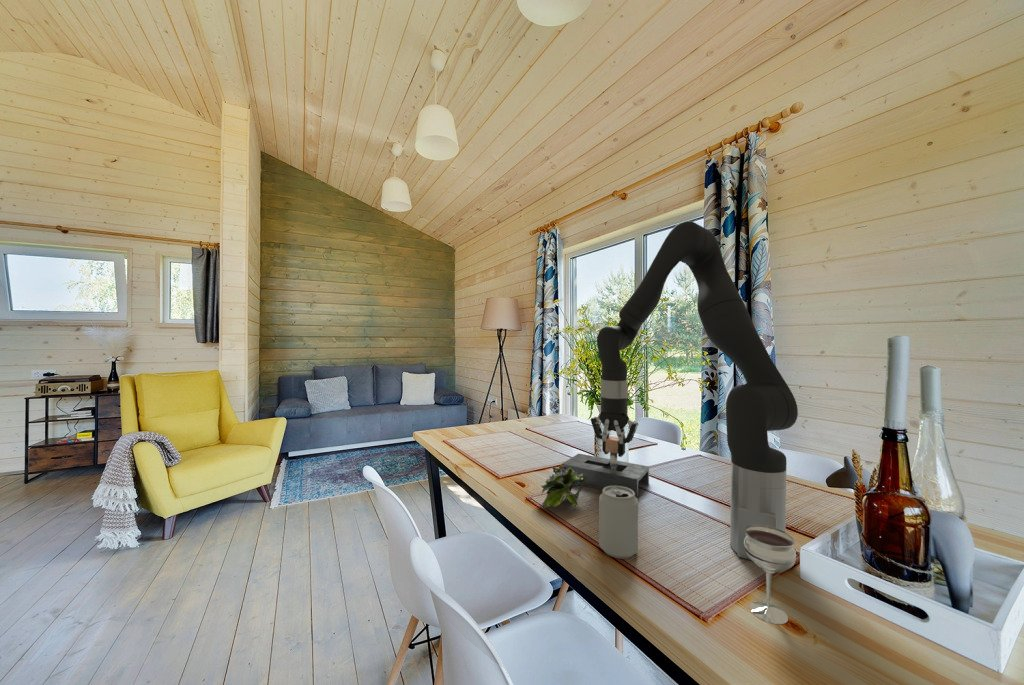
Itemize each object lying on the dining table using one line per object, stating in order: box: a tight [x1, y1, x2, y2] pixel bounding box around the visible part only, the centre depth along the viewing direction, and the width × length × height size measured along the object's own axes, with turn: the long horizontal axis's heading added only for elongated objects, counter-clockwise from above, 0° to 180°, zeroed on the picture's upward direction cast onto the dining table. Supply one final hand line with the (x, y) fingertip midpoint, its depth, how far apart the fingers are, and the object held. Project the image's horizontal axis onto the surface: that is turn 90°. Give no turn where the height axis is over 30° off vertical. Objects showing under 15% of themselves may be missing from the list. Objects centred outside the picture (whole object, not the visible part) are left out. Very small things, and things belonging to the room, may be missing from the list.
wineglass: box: [744, 525, 797, 625], centre depth 60 cm, size 7×7×12 cm
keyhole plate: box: [561, 453, 650, 499], centre depth 113 cm, size 12×22×5 cm, turn 56°
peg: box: [606, 435, 619, 471], centre depth 111 cm, size 4×4×12 cm
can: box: [598, 486, 639, 560], centre depth 77 cm, size 8×8×12 cm
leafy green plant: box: [540, 465, 587, 511], centre depth 98 cm, size 11×11×12 cm
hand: (613, 454), depth 111 cm, fingers closed on peg, 3 cm apart
